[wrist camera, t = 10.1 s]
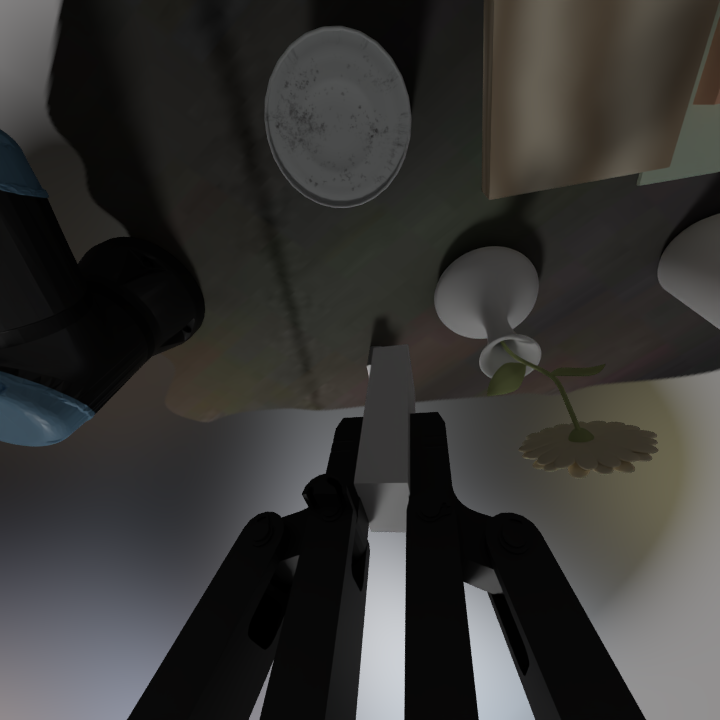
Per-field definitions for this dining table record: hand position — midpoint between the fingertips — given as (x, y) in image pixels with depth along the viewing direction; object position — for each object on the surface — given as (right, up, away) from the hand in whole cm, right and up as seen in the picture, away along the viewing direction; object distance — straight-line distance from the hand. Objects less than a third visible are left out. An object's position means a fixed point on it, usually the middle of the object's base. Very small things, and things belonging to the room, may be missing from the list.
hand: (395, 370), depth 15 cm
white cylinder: (-2, +23, +16) cm, 28 cm away
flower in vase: (+14, +9, +25) cm, 30 cm away
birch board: (+16, +24, +13) cm, 31 cm away
